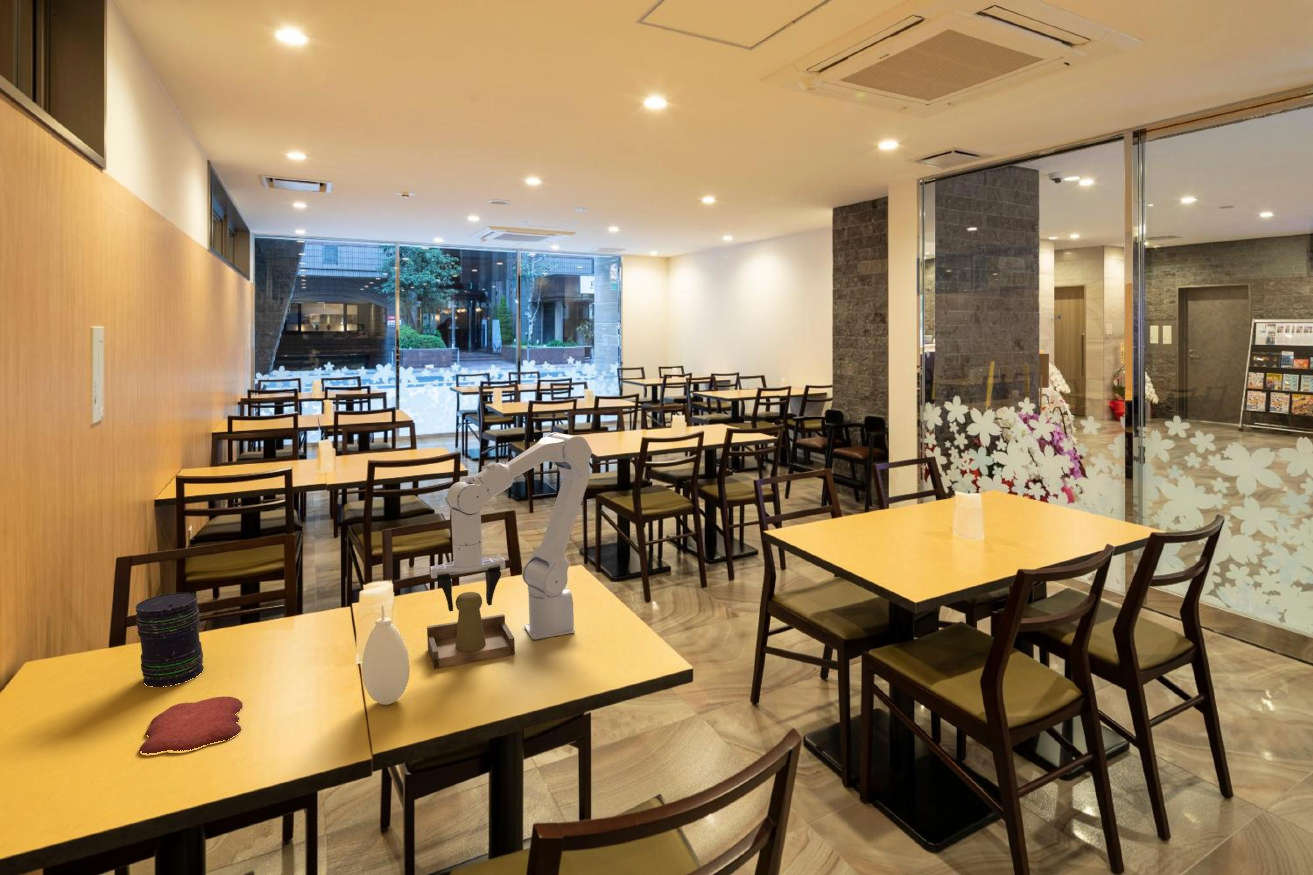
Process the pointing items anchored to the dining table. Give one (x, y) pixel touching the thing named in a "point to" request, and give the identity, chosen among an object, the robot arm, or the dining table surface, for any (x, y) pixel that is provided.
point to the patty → (193, 725)
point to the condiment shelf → (496, 646)
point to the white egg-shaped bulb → (385, 662)
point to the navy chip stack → (169, 639)
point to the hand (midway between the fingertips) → (470, 606)
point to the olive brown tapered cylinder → (469, 623)
